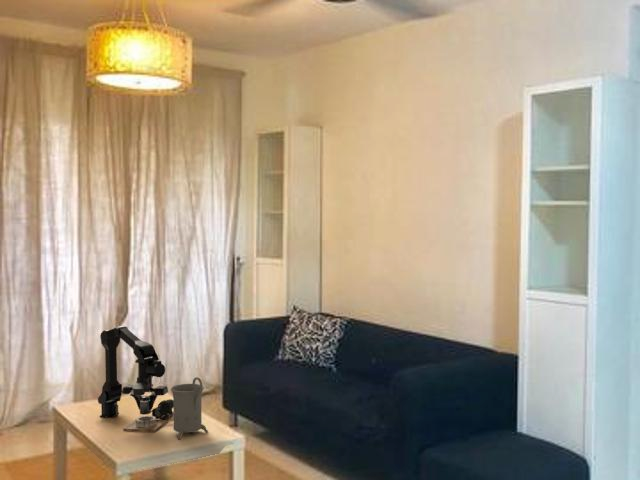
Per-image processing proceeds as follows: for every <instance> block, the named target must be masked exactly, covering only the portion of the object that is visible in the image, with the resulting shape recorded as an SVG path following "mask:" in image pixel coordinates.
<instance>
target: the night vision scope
mask: <svg viewBox="0 0 640 480" xmlns="http://www.w3.org/2000/svg"><path fill="white" fill-rule="evenodd" d="M173 409H174V401H173V399H166V400H162V401H160V402H159V403H158V404H157V406H156V407H155V408H152V410H151V416H154V417H156V420H167V421H168V419H169V418H170V417H171V416H173V414H174V410H173Z"/></svg>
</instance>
